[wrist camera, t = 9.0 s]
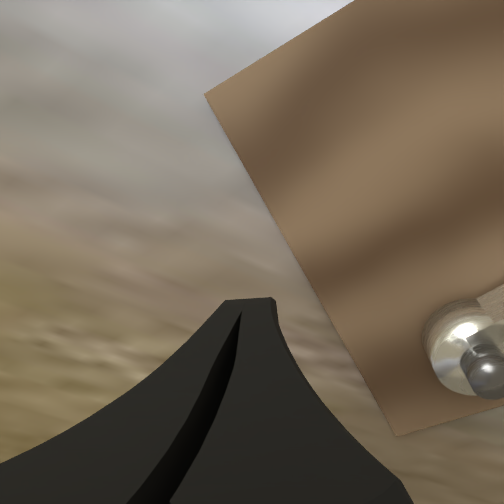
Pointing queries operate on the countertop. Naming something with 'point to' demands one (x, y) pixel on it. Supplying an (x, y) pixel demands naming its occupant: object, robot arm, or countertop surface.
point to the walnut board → (384, 177)
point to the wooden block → (469, 345)
